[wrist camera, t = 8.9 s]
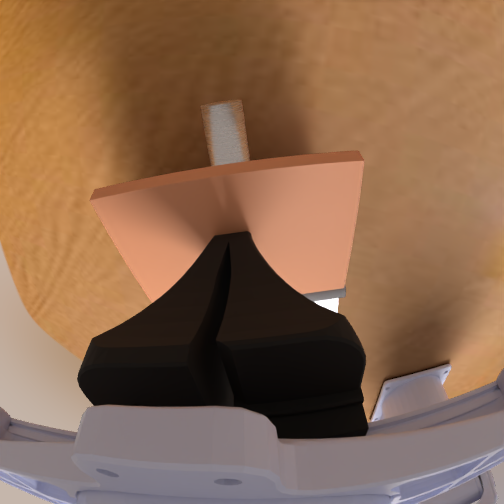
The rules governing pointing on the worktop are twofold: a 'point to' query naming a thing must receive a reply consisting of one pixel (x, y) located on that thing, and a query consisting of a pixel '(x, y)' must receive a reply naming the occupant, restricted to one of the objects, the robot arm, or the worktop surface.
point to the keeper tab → (241, 218)
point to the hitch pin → (225, 132)
